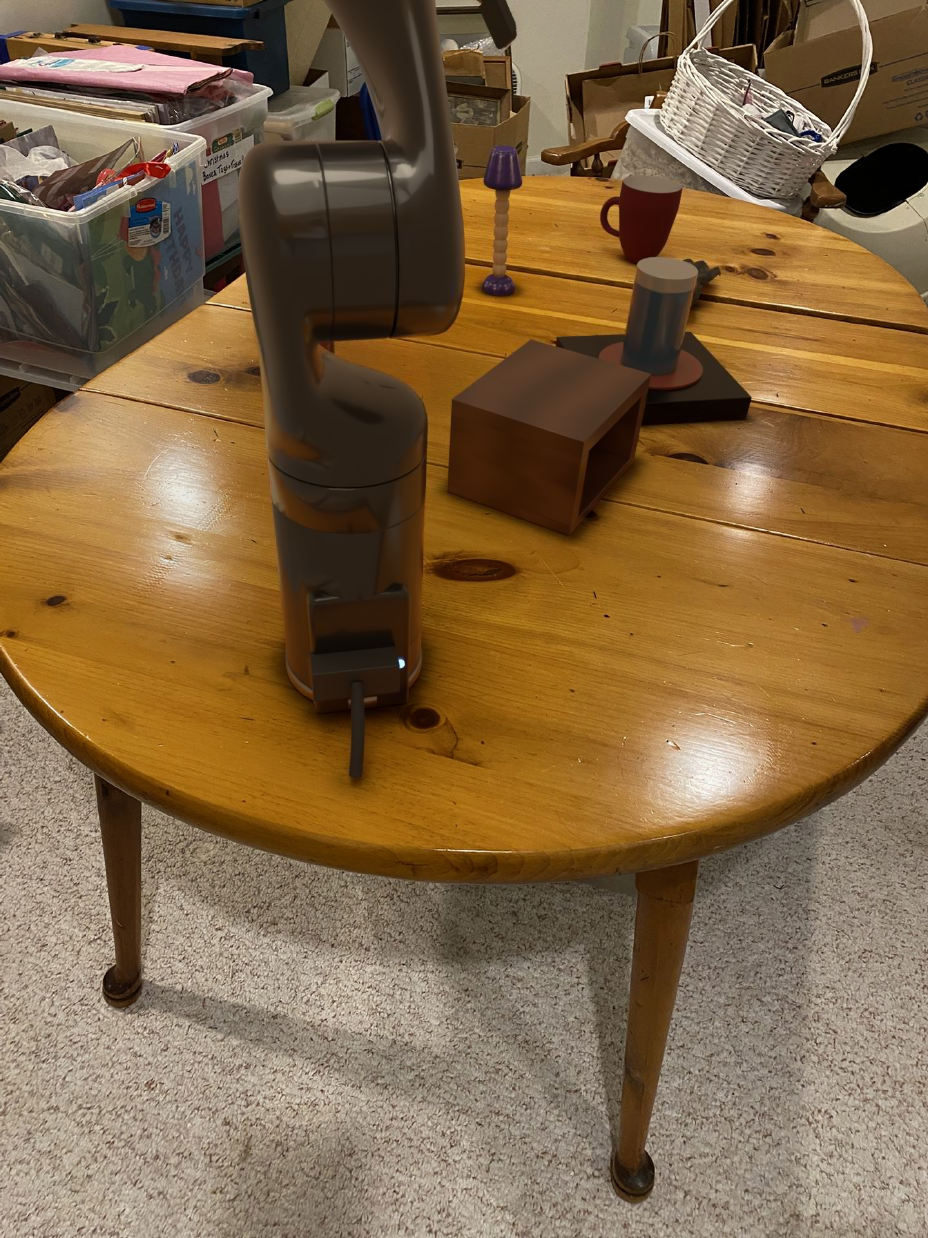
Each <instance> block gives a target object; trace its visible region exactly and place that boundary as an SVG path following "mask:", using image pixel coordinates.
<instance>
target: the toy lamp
mask: <svg viewBox="0 0 928 1238" xmlns="http://www.w3.org/2000/svg"><path fill="white" fill-rule="evenodd" d="M482 183H483V185H484V186H485V187H486V188H488V189H490V190H494V194H495V195H494V196H495V202H494V210H495V213H494V215H493V216H494V218H493V221H494V228H493V236H494V238H493V241H492V248H493V250H494V251H493V253H492V261H493V264H492V269H491V271H492V273H490V274H489V275H487V276H486V277H485V278H484V279H483V282H482V284H481V290H482V292H483V293H484V294H487V295H490V296H493V297H494V296H495V297H505V296H510V295H512V294H514V292H515V289H516V287H515V283H514V280H513V279H512V278H511V277H510V275H507V265H506V263H507V259H508V255H507V250H508V240H507V238H508V236H509V227H508V224H509V222H510V216H509V211H510V201H509V199H510V197H511V191H514V190H518V189H520V188H521V187H522V185H523V175H522V171H521V164H520V158H519V153H518V150H517V148H516V147H514V146H511V145H507V144H504V145H501V144H500V145H495V146H493V147H492V148H491V151H490V154H489V156H488V161H487V164H486V168H485V172H484V175H483V181H482Z"/></svg>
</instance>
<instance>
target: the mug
mask: <svg viewBox="0 0 928 1238" xmlns="http://www.w3.org/2000/svg"><path fill="white" fill-rule="evenodd" d="M683 189H684V187H683V185H682V184H681V183H680V182H679V181H677V180H674V179H672V178H668V177H664V176H659V175H651V174H649V175H648V174H637V175H636V174H635V175H629V176H627V177H625V178H623V179H622V181H621V187H620V192H619V196H612V197H610V198H608V199H607V200H606V201H605V202H604V203H603V205H602V206H601V210H600V214H599V220H600V221H599V222H600V225H601V227H602V229H603V230H604V231H605V232H606V233H608V234H609V235H611V236H613V237H615V238H618V239H619V244H620V246H621V247H620V248H621V249H622V253H623V256H624V259H625V260H627V262H629V263H632V264H634V265H637V263H638V262H639V261H640V260H642V259H645V258H651V257H659V255H660V254H661V252H662V251H663V250H664V248H665V246H666V244H667V242H668V239H669V237H670V234H671V231H672V228H673V226H674V223H675V219H676V217H677V215H678V212H679V208H680V204H681V200H682V193H683ZM613 206H618V229H615V228H614V227H612V226H611V225H610V223H609V220H608V216H609V215H608V214H609V211H610V209H611V208H612V207H613Z"/></svg>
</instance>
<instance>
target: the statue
mask: <svg viewBox="0 0 928 1238" xmlns="http://www.w3.org/2000/svg"><path fill="white" fill-rule="evenodd" d="M682 261H685V262H688V263H690V264H692V265H693V266H695V267H696V268H697V270H698V275H697V280H696V284H695V289H694V293H693V298H692V302H691V307H692V306H694V305H695V304H697V302H698V301H699V299H700V298H701V297H700V296H701V292H702V290H703V286H705V285H706V284H708V283H710V282H712V281H713V280H714V279H715V278H716V277H718V276H719V277H721V276H722V271H721V269H720V266H714V267H712V268H710V266H709V265H708V263H707V262H706V261H705V260H704V259H703V260H702V259H701V260H697V261H694V260H693V259H691V258H684V259H683V260H682Z"/></svg>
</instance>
